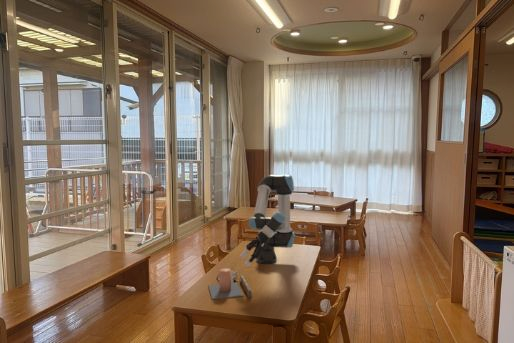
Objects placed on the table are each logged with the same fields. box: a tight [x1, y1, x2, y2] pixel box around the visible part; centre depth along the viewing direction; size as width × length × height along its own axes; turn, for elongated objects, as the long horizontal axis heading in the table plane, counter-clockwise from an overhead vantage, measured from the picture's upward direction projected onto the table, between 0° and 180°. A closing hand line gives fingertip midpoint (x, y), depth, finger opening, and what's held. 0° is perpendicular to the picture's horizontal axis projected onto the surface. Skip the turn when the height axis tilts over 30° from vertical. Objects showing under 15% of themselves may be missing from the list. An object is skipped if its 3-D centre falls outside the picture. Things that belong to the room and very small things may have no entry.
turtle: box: [216, 266, 241, 283], centre depth 236 cm, size 16×10×10 cm, turn 89°
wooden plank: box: [239, 274, 253, 299], centre depth 222 cm, size 26×2×4 cm, turn 13°
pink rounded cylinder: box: [218, 268, 232, 293], centre depth 218 cm, size 7×7×12 cm
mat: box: [208, 281, 244, 301], centre depth 219 cm, size 20×18×1 cm
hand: (243, 261), depth 220 cm, fingers open, 13 cm apart
